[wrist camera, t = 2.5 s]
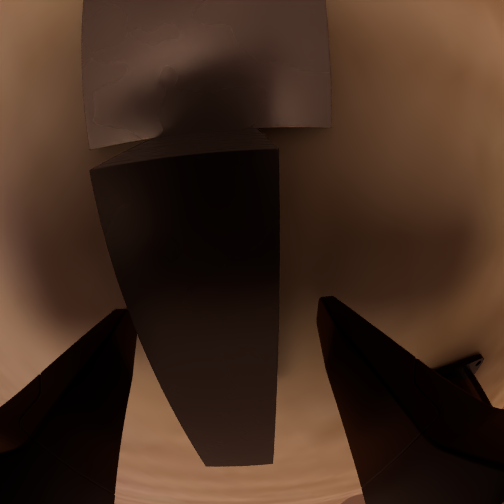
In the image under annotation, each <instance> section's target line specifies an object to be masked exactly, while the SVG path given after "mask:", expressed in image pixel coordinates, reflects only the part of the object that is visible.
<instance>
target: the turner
mask: <svg viewBox="0 0 504 504" xmlns="http://www.w3.org/2000/svg"><path fill="white" fill-rule="evenodd" d="M82 80H83V95H84V107H85V117H86V126H87V134H88V141H89V148H90V150H93V149H97V148H102V147H106V146H111V145H116V144H121V143H126V142H132V141H137V140H143V139H149V138H153V139H151V140H148V141H146V142H144V143H142V144H140V145H138V146H136V147H133V148H131V149H129V150H127V151H125V152H123V153H121V154H119V155H117V156H115V157H114V158H112V159H110V160H108V161H106V162H104V163H102V164H100V165H99V166H97V167H95V168H93V169H91V170H90V176H91V181H92V186H93V191H94V195H95V200H96V204H97V209H98V213H99V217H100V221H101V225H102V229H103V233H104V236H105V240H106V244H107V247H108V251H109V254H110V258H111V261H112V264H113V267H114V271H115V274H116V277H117V280H118V283H119V286H120V289H121V292H122V295H123V297H124V300H125V303H126V306H127V308H128V311H129V314H130V316H131V319H132V322H133V324H134V327H135V329H136V332H137V334H138V337H139V339H140V342H141V344H142V346H143V349H144V351H145V353H146V356H147V358H148V360H149V362H150V365H151V367H152V369H153V371H154V373H155V375H156V377H157V380H158V382H159V384H160V386H161V388H162V390H163V392H164V394H165V396H166V398H167V400H168V402H169V404H170V406H171V407H172V409H173V411H174V413H175V415H176V417H177V419H178V420H179V422H180V424H181V426H182V428H183V429H184V431H185V433H186V435H187V436H188V438H189V440H190V441H191V443H192V445H193V446H194V448H195V450H196V451H197V453H198V455H199V456H200V458H201V459H202V461H203V463H204V464H205V466H250V465H264V464H273V455H274V437H275V418H276V395H277V368H278V333H279V269H280V205H279V149H278V148H277V147H276V146H275V145H274V144H273V143H272V142H271V141H270V140H269V139H268V138H267V137H266V136H265V135H264V134H262V133H261V132H260V131H259V130H258V129H257V128H266V127H323V128H331V76H330V53H329V36H328V23H327V11H326V1H325V0H84V1H83V15H82Z"/></svg>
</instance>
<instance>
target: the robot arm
mask: <svg viewBox="0 0 504 504" xmlns="http://www.w3.org/2000/svg"><path fill="white" fill-rule="evenodd" d="M317 328H318V333H319V338H320V343H321V348H322V353H323V358H324V363H325V368H326V372H327V375H328V378H329V381H330V384H331V388H332V391H333V394H334V397H335V400H336V403H337V407H338V410H339V413H340V416H341V419H342V423H343V426H344V429H345V433H346V436H347V439H348V443H349V446H350V449H351V453H352V456H353V460H354V463H355V467H356V470H357V474H358V477H359V481H360V484H361V487H362V492H363V496H364V500H365V503H366V504H504V409H499V408H495V407H493V406H492V405H491V403H490V401H489V399H488V397H487V396H486V394H485V392H484V390H483V389H482V387H481V385H480V384H479V382H478V380H477V379H476V377H475V375H474V374H475V372H476V371H477V370H478V368H479V367H480V365H481V364H482V362H483V360H484V358H483V356H482V355H481V354H478V355H475V356H473V357H470V358H468V359H465V360H463V361H460V362H458V363H455V364H452V365H450V366H447V367H444V368H441V369H438V370H435V371H434V370H432V369H431V368H429V367H428V366H427V365H425V364H424V363H423V362H421V361H420V360H419V359H416V358H415V356H413V355H412V354H411V353H409V352H408V351H407V350H405V349H404V348H403V347H401V346H400V345H399V344H397V343H396V342H395V341H393V340H392V339H391V338H389V337H388V336H387V335H385V334H384V333H383V332H381V331H380V330H379V329H377V328H376V327H375V326H373V325H372V324H371V323H369V322H368V321H367V320H365V319H364V318H363V317H361V316H360V315H359V314H357V313H356V312H355V311H353V310H352V309H351V308H349V307H348V306H346V305H345V304H344V303H342V302H341V301H340V300H338V299H337V298H336V297H334V296H326V297H321V298H320V299H319V302H318V311H317ZM136 340H137V332H136V329H135V327H134V324H133V322H132V319H131V316H130V314H129V311H128V309H115V310H113V311H112V312H111V313H110V314H109V315H107V316H106V317H105V318H104V319H103V320H101V321H100V322H99V323H98V324H97V325H95V326H94V327H93V328H92V329H91V330H89V331H88V332H87V333H86V334H85V335H84V336H82V337H81V338H80V339H79V340H78V341H77V342H75V343H74V344H73V345H72V346H71V347H70V348H68V349H67V350H66V351H65V352H64V353H63V354H62V355H60V356H59V357H58V358H57V359H56V360H55V361H54V362H52V363H51V364H50V365H49V366H48V367H47V368H46V369H45V370H43V371H42V372H41V375H40V374H39V375H38V376H37V377H36V378H35V379H33V380H32V381H31V382H30V383H29V384H28V385H27V386H26V387H24V388H23V389H22V390H21V391H20V392H19V393H17V394H16V395H15V396H14V397H12V398H11V399H10V400H9V401H7V402H6V403H5V404H3V405H2V406H1V407H0V504H114V500H115V495H114V494H115V487H116V477H117V468H118V460H119V453H120V445H121V439H122V432H123V426H124V420H125V414H126V408H127V403H128V398H129V393H130V388H131V382H132V377H133V367H134V357H135V348H136Z"/></svg>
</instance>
